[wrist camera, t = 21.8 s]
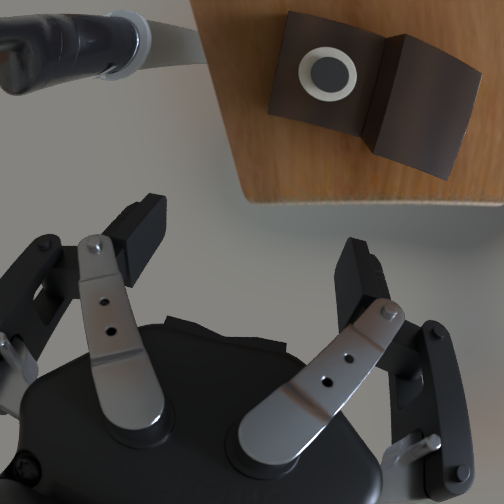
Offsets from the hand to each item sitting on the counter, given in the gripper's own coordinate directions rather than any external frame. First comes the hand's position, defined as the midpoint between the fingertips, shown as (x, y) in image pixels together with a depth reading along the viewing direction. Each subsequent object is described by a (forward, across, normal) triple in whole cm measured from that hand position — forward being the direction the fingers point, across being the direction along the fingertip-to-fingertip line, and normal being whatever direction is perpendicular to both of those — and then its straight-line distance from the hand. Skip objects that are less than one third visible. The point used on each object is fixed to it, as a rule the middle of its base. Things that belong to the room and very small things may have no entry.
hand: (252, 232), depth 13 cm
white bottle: (+27, -3, -7) cm, 28 cm away
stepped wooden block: (+30, -9, -7) cm, 32 cm away
